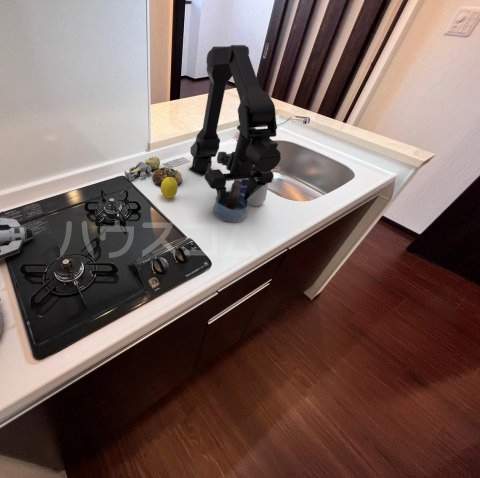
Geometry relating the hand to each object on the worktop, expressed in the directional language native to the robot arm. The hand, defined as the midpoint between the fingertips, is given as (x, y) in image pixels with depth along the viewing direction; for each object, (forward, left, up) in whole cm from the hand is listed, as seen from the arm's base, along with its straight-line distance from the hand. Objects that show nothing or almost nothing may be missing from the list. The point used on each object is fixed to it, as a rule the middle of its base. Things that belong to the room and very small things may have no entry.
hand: (232, 200), depth 79 cm
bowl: (0, 0, -5) cm, 5 cm away
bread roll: (-27, 0, -5) cm, 27 cm away
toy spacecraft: (-37, -62, -5) cm, 73 cm away
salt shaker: (+3, +11, -5) cm, 12 cm away
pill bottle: (-4, +13, -5) cm, 14 cm away
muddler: (0, 0, -4) cm, 4 cm away
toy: (-37, -11, -4) cm, 39 cm away
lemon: (-19, -8, -5) cm, 21 cm away
